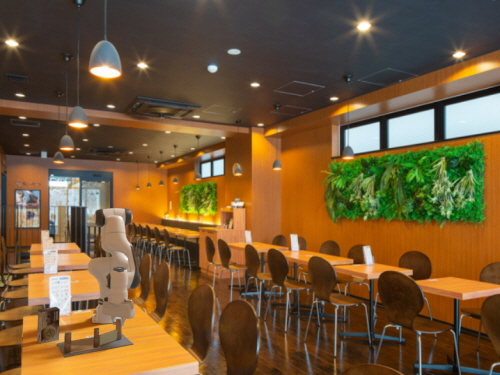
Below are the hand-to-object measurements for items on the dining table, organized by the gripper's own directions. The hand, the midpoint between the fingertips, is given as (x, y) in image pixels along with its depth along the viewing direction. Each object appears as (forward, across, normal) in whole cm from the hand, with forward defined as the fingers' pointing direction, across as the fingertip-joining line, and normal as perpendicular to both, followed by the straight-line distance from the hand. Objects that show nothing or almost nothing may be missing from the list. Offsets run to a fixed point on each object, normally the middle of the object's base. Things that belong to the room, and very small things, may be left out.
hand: (118, 325), depth 204 cm
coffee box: (+8, +32, +17) cm, 37 cm away
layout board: (+8, +5, +10) cm, 14 cm away
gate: (+7, 0, +5) cm, 9 cm away
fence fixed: (+7, +4, +20) cm, 21 cm away
